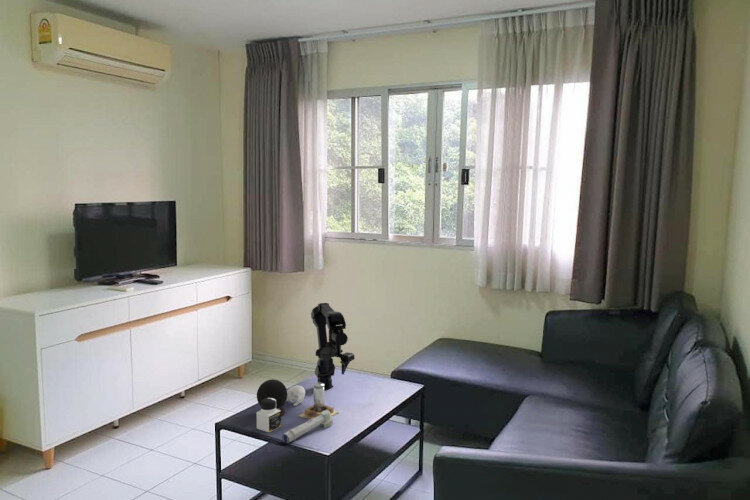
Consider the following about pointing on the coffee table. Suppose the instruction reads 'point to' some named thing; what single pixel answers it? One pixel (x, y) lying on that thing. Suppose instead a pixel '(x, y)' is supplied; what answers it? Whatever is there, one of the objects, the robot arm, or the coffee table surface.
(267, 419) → the medicine bottle
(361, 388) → the coffee table surface
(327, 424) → the octagon-capped white rod
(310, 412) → the jig
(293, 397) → the white rounded lump
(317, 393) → the metal canister
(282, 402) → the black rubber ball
